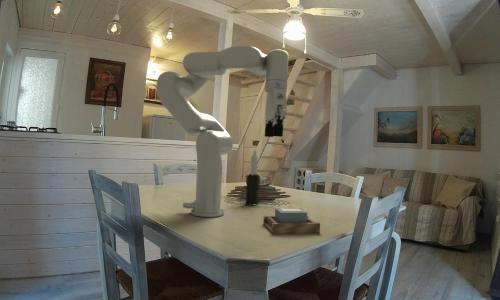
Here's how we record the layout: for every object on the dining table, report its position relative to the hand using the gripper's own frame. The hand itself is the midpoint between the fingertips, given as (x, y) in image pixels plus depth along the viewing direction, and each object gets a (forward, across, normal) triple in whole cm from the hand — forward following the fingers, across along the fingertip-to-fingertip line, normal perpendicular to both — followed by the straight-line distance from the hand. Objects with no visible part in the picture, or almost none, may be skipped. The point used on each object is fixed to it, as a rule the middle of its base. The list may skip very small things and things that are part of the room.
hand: (273, 136), depth 103 cm
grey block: (+29, -7, -5) cm, 31 cm away
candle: (+31, +32, -2) cm, 44 cm away
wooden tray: (+30, -7, -6) cm, 32 cm away
